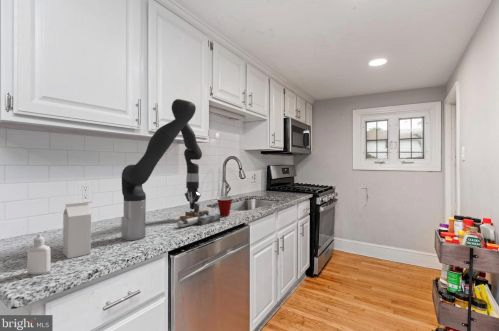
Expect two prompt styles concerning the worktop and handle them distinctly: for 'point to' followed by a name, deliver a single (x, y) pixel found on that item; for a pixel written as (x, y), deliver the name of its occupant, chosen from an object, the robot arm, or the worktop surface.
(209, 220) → the lock plate
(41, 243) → the eye dropper bottle
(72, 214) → the milk carton
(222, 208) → the plastic cup
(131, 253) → the worktop surface
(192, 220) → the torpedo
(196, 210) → the bolt
